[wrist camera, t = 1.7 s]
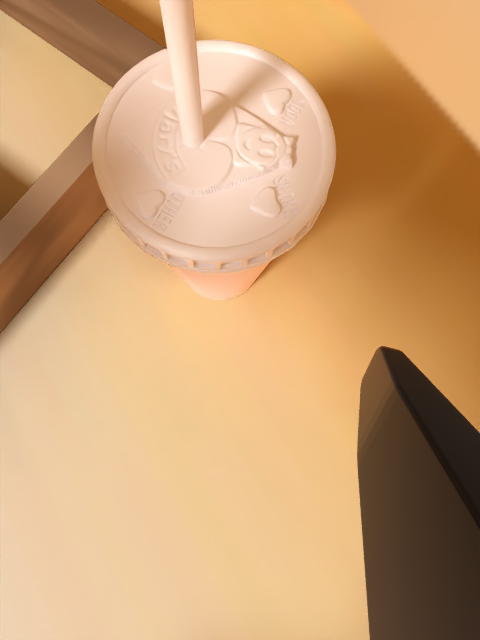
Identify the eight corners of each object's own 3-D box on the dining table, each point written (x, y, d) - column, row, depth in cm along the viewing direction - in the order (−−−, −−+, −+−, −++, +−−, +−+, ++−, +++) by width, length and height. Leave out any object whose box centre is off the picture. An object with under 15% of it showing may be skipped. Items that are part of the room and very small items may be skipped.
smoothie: (161, 191, 21) (44, -192, 8) (293, 205, 21) (413, -149, 8) (142, 321, 20) (-37, 145, 6) (282, 336, 20) (402, 192, 6)
